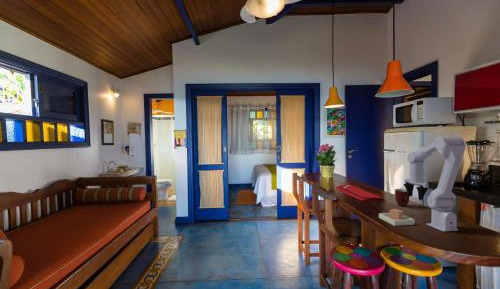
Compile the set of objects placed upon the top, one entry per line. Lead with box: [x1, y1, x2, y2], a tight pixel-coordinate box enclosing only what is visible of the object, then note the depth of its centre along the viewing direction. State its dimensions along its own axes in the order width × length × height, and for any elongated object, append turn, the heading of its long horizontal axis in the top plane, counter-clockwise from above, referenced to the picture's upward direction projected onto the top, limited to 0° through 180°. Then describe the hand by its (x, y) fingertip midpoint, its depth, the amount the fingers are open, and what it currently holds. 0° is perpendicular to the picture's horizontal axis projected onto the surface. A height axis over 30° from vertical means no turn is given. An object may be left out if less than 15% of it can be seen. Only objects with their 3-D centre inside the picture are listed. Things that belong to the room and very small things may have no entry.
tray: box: [378, 212, 416, 227], centre depth 130 cm, size 12×11×2 cm
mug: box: [394, 188, 411, 208], centre depth 156 cm, size 11×8×10 cm
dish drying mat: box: [335, 184, 385, 202], centre depth 189 cm, size 16×41×4 cm, turn 7°
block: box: [389, 208, 404, 220], centre depth 130 cm, size 4×4×5 cm
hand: (415, 197), depth 140 cm, fingers open, 7 cm apart
